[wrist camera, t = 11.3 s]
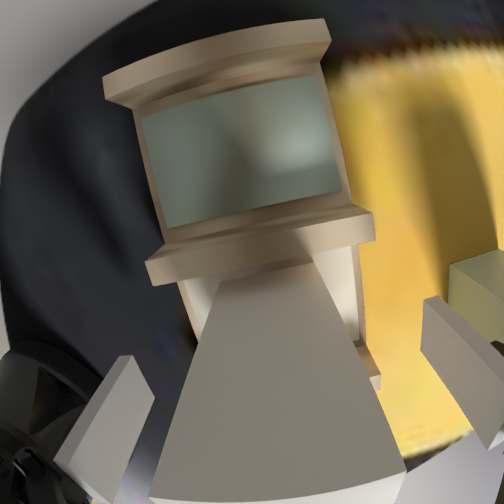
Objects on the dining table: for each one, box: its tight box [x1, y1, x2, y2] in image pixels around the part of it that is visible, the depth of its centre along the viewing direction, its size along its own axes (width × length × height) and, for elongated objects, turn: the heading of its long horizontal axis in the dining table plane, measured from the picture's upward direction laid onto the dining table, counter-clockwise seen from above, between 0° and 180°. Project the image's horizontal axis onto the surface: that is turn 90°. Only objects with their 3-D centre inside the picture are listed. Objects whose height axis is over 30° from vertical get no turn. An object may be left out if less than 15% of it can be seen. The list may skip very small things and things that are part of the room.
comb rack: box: [102, 19, 381, 391], centre depth 14 cm, size 10×19×4 cm, turn 13°
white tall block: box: [148, 262, 407, 504], centre depth 10 cm, size 5×5×12 cm
